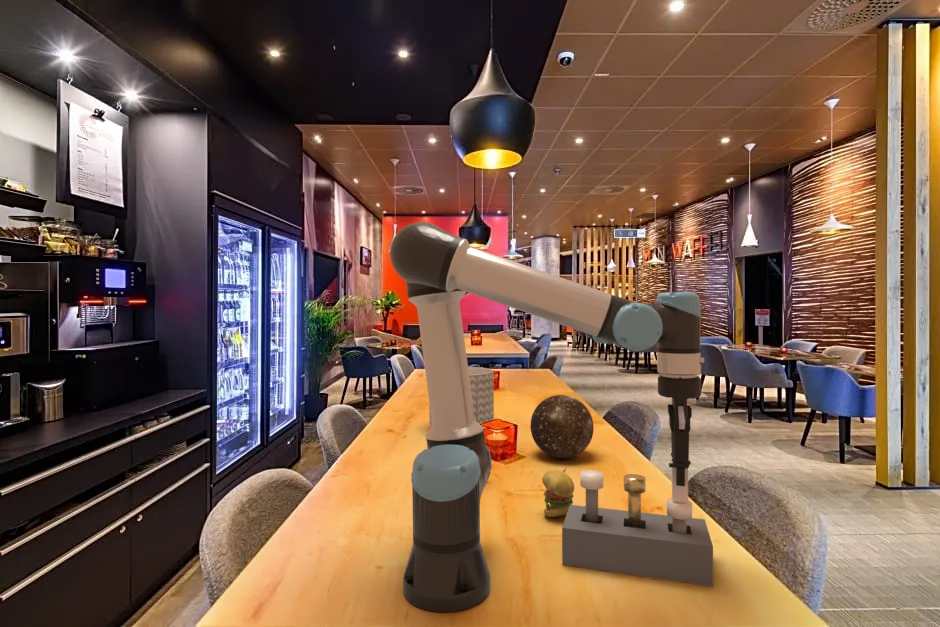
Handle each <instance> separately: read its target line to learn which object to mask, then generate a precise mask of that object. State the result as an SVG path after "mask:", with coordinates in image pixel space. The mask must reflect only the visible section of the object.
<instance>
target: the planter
mask: <svg viewBox="0 0 940 627" xmlns="http://www.w3.org/2000/svg"><path fill="white" fill-rule="evenodd" d="M468 371H469V379H470V387H471V394H472V402H473V410H474V417H475V420H476V422H478V423H479V424H480V423H483V422H486V421H490V420H494V421H495V409H494V408H495V406H494V405H495V399H494V398H495V396H494V395H495V393H494V392H495V391H494V389H495V388H494V386H495V385H494V380H495V379H494V375H495V374H494V370H493V369H492V368H487V367H475V366H468ZM428 404H429V403H428ZM428 407H429V408H428V409H429V414H428V415H429V424H430V425H431V426H432V419H431V411H430V404H429V406H428Z"/></svg>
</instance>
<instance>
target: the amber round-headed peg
mask: <svg viewBox="0 0 940 627" xmlns="http://www.w3.org/2000/svg"><path fill="white" fill-rule="evenodd" d="M646 489H647V488H646V477H645V476H644V475H641V474H638V473H637V474H636V473H628V474H624V475H623V491H625V492H627V511H628V527H632V528H641V512H642V494H645V492H646Z"/></svg>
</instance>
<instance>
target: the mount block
mask: <svg viewBox="0 0 940 627" xmlns="http://www.w3.org/2000/svg"><path fill="white" fill-rule="evenodd" d="M563 521H564V522H563V525H562V527H561V533H562V534H561V536H562V537H561V554H562V556H561V558H562V559H561V560H562V562H561V563H562V565H563V566H569V567H576V568H577V567H578V568H582V569H590V570H597V571H605V572H611V573H617V574H625V575H629V576H630V575H632V576H637V577H644V578H651V579H659V580H665V581H671V582H672V581H673V582H680V583H685V584H694V585H699V586H700V585H701V586H705V587H706V586H707V587H713V586H714V545H713V543H712V542H713V541H712V539H711V536H710V532H709V528H708V526H707V523H706V519H704V518H697V517H692V518H691V519H688V520H686V534H683V533H674V532H673V518H672V517H670V516H668V515H667V514H659V513H651V512H650V513H649V512H642V511H641V528H632V527H628V510H622V509H616V508H615V509H613V508H605V507H604V508H603V507H598V523H590V522H586V505H585V506H584V505H577V504H572V505H570V507H569V510H568V512H567V513H566V516H565V519H564V520H563Z"/></svg>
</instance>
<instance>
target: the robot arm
mask: <svg viewBox="0 0 940 627" xmlns="http://www.w3.org/2000/svg"><path fill="white" fill-rule="evenodd" d="M389 258H390V262H391V265H392V268H393V270H394V271H395V273H396V274H397V275H398V276H399V277H400V278H401V279H402V280H403V281H405V285H406V293H407V300H408V301H409V302H410V303H412V304H413V305H414V306H415V308H416V309H417V317H418V325H419V332H420V339H421V340H420V341H421V348H422V349H421V350H422V355H423V363H424V372H425V378H426V388H427V393H428V394H427V396H428V402H429V403H428V404H430V411H431V419H432V425H431V428H430V429H429V430H428V432H426V435H425V439H426V447H427V448H425V449H423V450H422V451H420V452H419V453H418V454H417V455H416V456H415V458H414V460H413V464H412V471H411V477H410V478H411V484H412V485H411V486H412V488H411V489H412V494H411V495H412V547H411V551H410V553H409V556H408V560H407V563H406V565H405V570H404V572H403V577H402V586H403V588H402V589H403V591H402V592H403V595H404V597H405V599H406V601H408V602H409V603H411V604H412V605H414V606H416V607H417V608H420V609H423V610H426V611H430V612H438V613H450V612H451V613H452V612H458V611H459V612H460V611H463V610H467V609H469V608H473V607H475V606H477V605H478V604H480V603H482V602H483V601H484V600H485V599H486V598H487V596H489V594H490V591H491V572H490V569H489V566H488V563H487V559H486V557H485V553H484V551H483V548H482V545H481V532H480V531H481V521H480V520H481V516H480V515H481V512H480V510H481V507H480V505H481V497H482V494H483V492H484V489H485V486H486V485H487V484H486V483H487V482H488V480H489V478H490V475H491V470H492V456H491V453H490V450H489V448H488V446H487V443H486V437H485V436H486V435H485V436H484V434H485V428H483V426H482V425H480V424H479V423H478V422H476V420H475V417H474V410H473V402H472V394H471V387H470V379H469V371H468V367H469V365H468V358H467V350H466V343H465V342H466V340H465V336H464V334H465V333H464V326H463V319H462V312H461V303H460V302H461V300H462V298H463V297H464V296H465V294H466V293H468V294H472V295H474V296H476V297H477V296H478V297H480V298H482V299H486V300H488V301H492V302H494V303H498V304H500V305H504V306H506V307H509V308H512V309H515V310H518V311H521V312H524V313H527V314H529V315H531V316H536V317H537V318H541V319H543V320H547V321H550V322H553V323H555V324H558V325H561V326H564V327H567V328H570V329H572V330H576V331H578V332H581V333H584V334H587V335H591V336H592V339H593V340H594V342H595V343H597V344H606V345H612V344H615V345H618V346H621V347H622V348H624V349H625V350H626V349H627V350H630V351H633V352H638V351H639V352H640V351H644V350H648V349H650V348H652V347H654V345H656V344H657V352H656V353H657V355H656V358H657V359H656V361H657V362H656V365H657V368H656V369H657V370H656V371H657V372H658V374H659V375H658V377H657V393H658V395H660V397H663V398H667V399H670V398H671V404H670V403H669V404H667V413H668V425H669V428H670V429H669V430H670V431H671V432H670V435H671V436H670V437H671V440H670V441H671V443H670V444H671V453H670V456H671V462H672V463H671V462H669V463H668V467H669V468H671V498H672V501H673V502H682V503H688V500H689V468H690V466H691V464H692V463H691V460H690V459H689V458H690V455H689V454H690V431H691V418H692V416H693V415H692V414H693V411H692V407H691V405H689V404H688V400H689V399H694V400H695V399H698V398H700V397H701V395H702V378H700V376H698V375H700V374H701V372H702V369H701V368H702V366H701V363H702V364H703V363H705V358H704V357H703V356H702V355H701V350H702V349H701V337H702V336H701V331H702V328H701V326H702V325H701V324H702V323H701V322H702V313H701V310H702V309H701V302H700V301H701V300H700V297H699V295H698V294H697V293H696V292H691V291H682V292H681V291H680V292H660V293H658V294H657V295H656V296H657V297H656V301H655V302H651V303H643V302H636V301H633V300H630V299H628V298H627V299H626V298H623V297H620V296H618V295H613V294H611V293H609V292H606V291H603V290H600V289H596V288H594V287H591V286H587V285H585V284H583V283H579V282H576V281H573V280H571V279H567V278H564V277H560V276H558V275H555V274H552V273H549V272H548V271H547V272H546V271H543V270H541V269H537V268H534V267H531V266H529V265H525V264H523V263H520V262H516V261H513V260H511V259H507V258H505V257H501V256H498V255H496V254H493V253H489V252H486V251H483V250H481V249H478V248H475V247H472V246H471V244H470V243H469V241H468V239H466V238H464V237H460V236H458V235H455V234H452V233H450V232H448V231H446V230H445V229H443V228H440V226H438V225H436V224H434V223H431V222H426V221H417V222H413V223H409V224H408V225H405V226H404V227H402V228H401V229H400V230H399V231H398V232H397V233H396V234H395V236H394V237H393V239H392V241H391V244H390V249H389ZM701 356H702V357H701Z"/></svg>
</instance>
